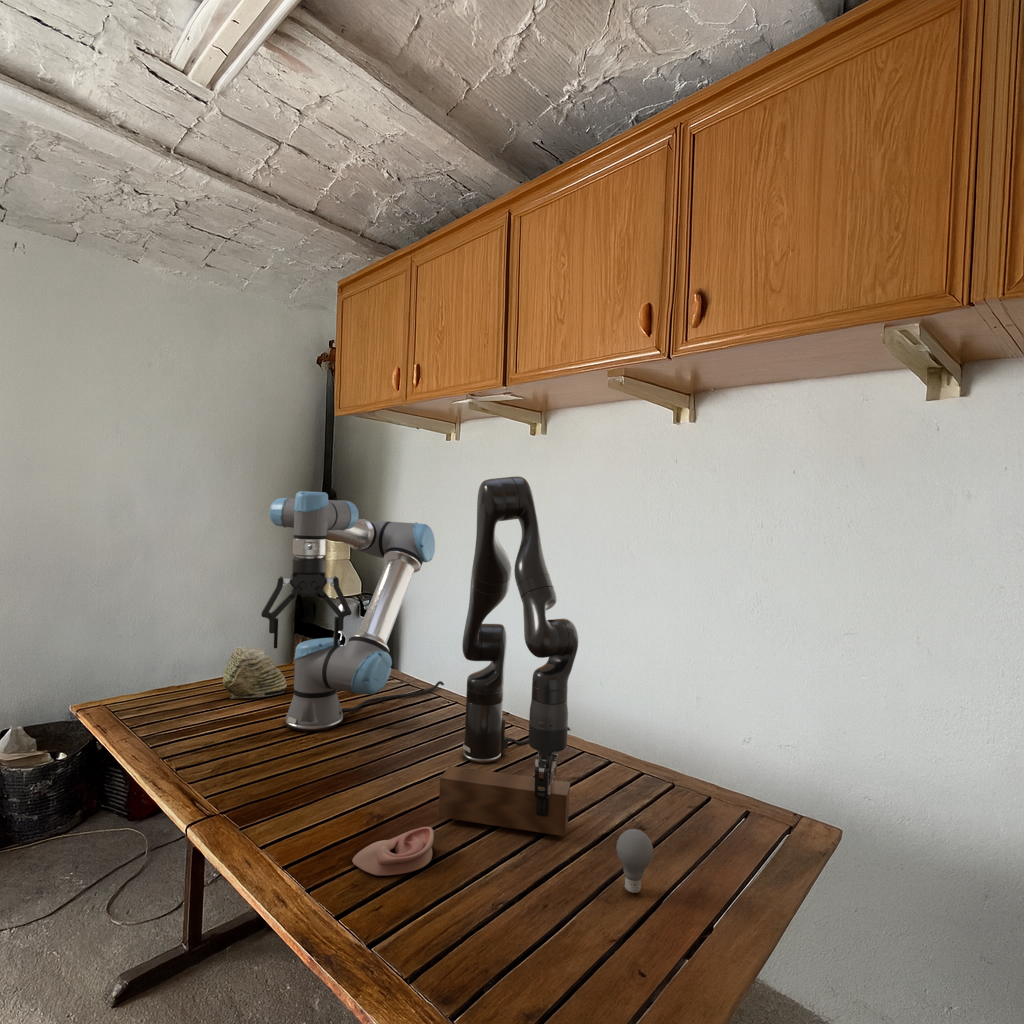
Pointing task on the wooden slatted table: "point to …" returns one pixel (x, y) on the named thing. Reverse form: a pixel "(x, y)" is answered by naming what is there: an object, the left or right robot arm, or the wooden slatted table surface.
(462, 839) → the wooden slatted table surface
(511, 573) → the right robot arm
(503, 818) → the bar
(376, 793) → the wooden slatted table surface
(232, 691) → the fossil
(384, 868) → the anatomical model
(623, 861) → the light bulb
